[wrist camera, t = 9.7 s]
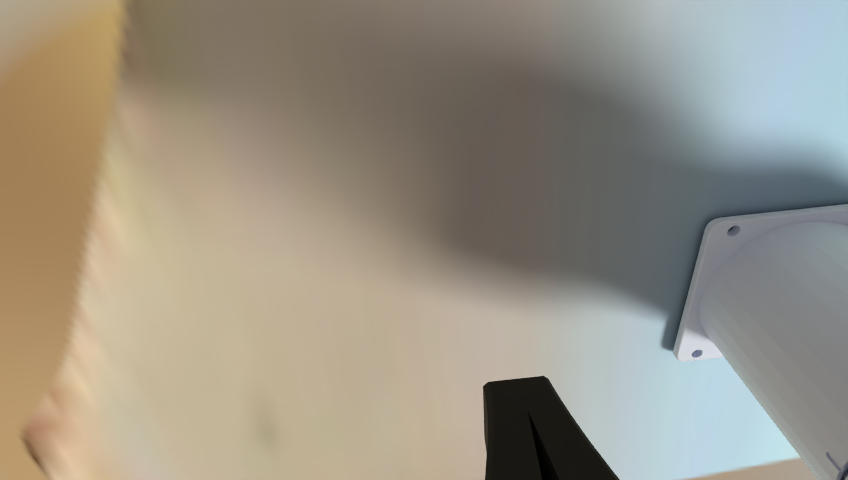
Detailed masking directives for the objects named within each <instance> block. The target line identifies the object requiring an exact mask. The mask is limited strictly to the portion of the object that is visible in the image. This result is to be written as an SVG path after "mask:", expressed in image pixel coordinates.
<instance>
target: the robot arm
mask: <svg viewBox="0 0 848 480" xmlns="http://www.w3.org/2000/svg"><path fill="white" fill-rule="evenodd" d="M733 226H734V227H733ZM731 227H733V229H731V230H730V231H728V230H729V229H730V228H731ZM673 354H674V355H675V357H676V358H677V360H679V361H693V360H702V359H711V358H721V357H725V359H726V360H727V361H728V363H729V364H730V365H731V367H732V368H733V369H734V370H735V372H736V373H737V374H738V376H739V377H740V378H741V380H742V381H743V382H744V384H745V385H746V386H747V387H748V389H749V390H750V391H751V393H752V394H753V395H754V397H755V398H756V399H757V401H758V402H759V403H760V405H761V406H762V407H763V408H764V410H765V411H766V412H767V414H768V415H769V416H770V418H771V419H772V420H773V422H774V423H775V424H776V425H777V427H778V428H779V429H780V431H781V432H782V433H783V435H784V436H785V437H786V439H787V440H788V441H789V442H790V444H791V445H792V446H793V448H794V449H795V450H796V452H797V453H798V454H799V456H800V457H801V458H802V460H803V461H804V462H805V463H806V465H807V466H808V467H809V469H810V470H811V471H812V473H813V474H814V475H815V476H816V478H817V479H818V480H848V204H843V205H834V206H824V207H815V208H806V209H796V210H787V211H777V212H768V213H758V214H749V215H739V216H730V217H721V218H716V219H714V220H712V221H710V222H709V223H708V225H707V226H706V228H705V231H704V234H703V238H702V242H701V246H700V250H699V254H698V257H697V261H696V265H695V269H694V273H693V277H692V280H691V284H690V288H689V292H688V296H687V300H686V303H685V307H684V311H683V315H682V319H681V322H680V326H679V330H678V334H677V338H676V342H675V345H674V349H673ZM483 398H484V433H485V444H486V451H487V460H486V476H485V480H619V478H618V477H617V476H616V475H615V473H614V472H613V471H612V470H611V468H610V467H609V466H608V464H607V463H606V462H605V461H604V459H603V458H602V457H601V455H600V454H599V453H598V451H597V450H596V449H595V448H594V446H593V445H592V444H591V442H590V441H589V440H588V438H587V437H586V435H585V434H584V433H583V431H582V430H581V428H580V427H579V426H578V424H577V423H576V421H575V420H574V418H573V417H572V416H571V414H570V413H569V411H568V410H567V408H566V407H565V405H564V404H563V402H562V401H561V399H560V397H559V396H558V394H557V393H556V391H555V389H554V388H553V386H552V384H551V383H550V381H549V379H547V378H546V377H545V376H539V377H530V378H521V379H512V380H502V381H493V382H488V383H486V384H485V385H484V386H483Z"/></svg>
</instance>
